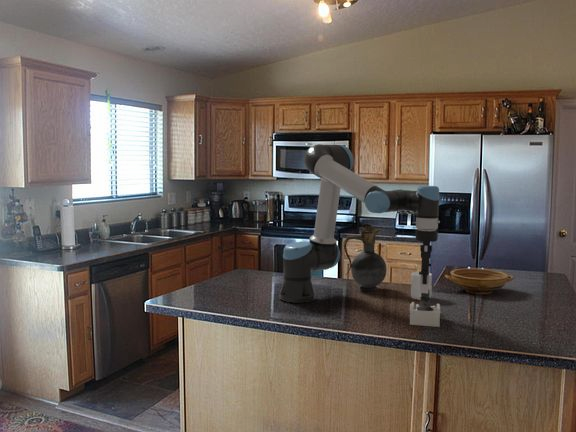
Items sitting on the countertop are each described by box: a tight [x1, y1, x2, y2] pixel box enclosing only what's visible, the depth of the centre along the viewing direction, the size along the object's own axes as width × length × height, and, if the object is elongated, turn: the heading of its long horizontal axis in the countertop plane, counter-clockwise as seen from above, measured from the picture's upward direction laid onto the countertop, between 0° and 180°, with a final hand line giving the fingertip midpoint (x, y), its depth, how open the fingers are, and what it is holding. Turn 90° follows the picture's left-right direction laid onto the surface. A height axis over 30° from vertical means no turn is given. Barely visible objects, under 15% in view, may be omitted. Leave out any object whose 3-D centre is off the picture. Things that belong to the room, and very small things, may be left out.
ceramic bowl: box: [444, 267, 515, 295], centre depth 231 cm, size 30×24×8 cm
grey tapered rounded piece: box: [417, 289, 434, 311], centre depth 187 cm, size 6×6×12 cm
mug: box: [410, 271, 433, 301], centre depth 217 cm, size 12×8×10 cm
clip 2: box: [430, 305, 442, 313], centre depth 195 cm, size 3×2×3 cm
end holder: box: [409, 301, 441, 328], centre depth 186 cm, size 10×12×5 cm
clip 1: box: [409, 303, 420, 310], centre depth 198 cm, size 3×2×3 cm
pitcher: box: [343, 223, 388, 292], centre depth 233 cm, size 11×19×30 cm, turn 89°
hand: (424, 288), depth 187 cm, fingers open, 13 cm apart
